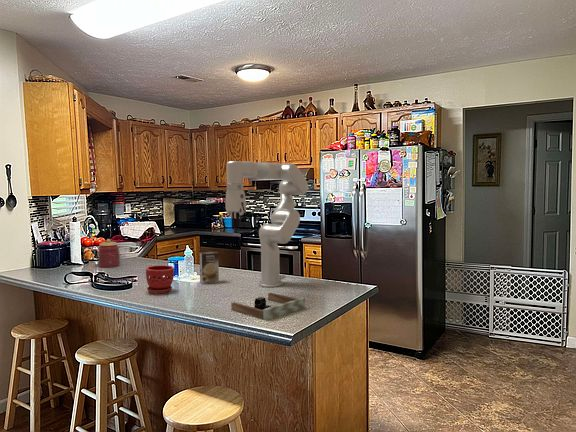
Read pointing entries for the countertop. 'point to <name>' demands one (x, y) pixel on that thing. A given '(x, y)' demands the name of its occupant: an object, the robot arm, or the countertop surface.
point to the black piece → (261, 303)
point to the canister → (108, 254)
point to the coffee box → (209, 267)
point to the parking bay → (274, 311)
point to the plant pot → (159, 278)
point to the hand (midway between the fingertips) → (235, 226)
